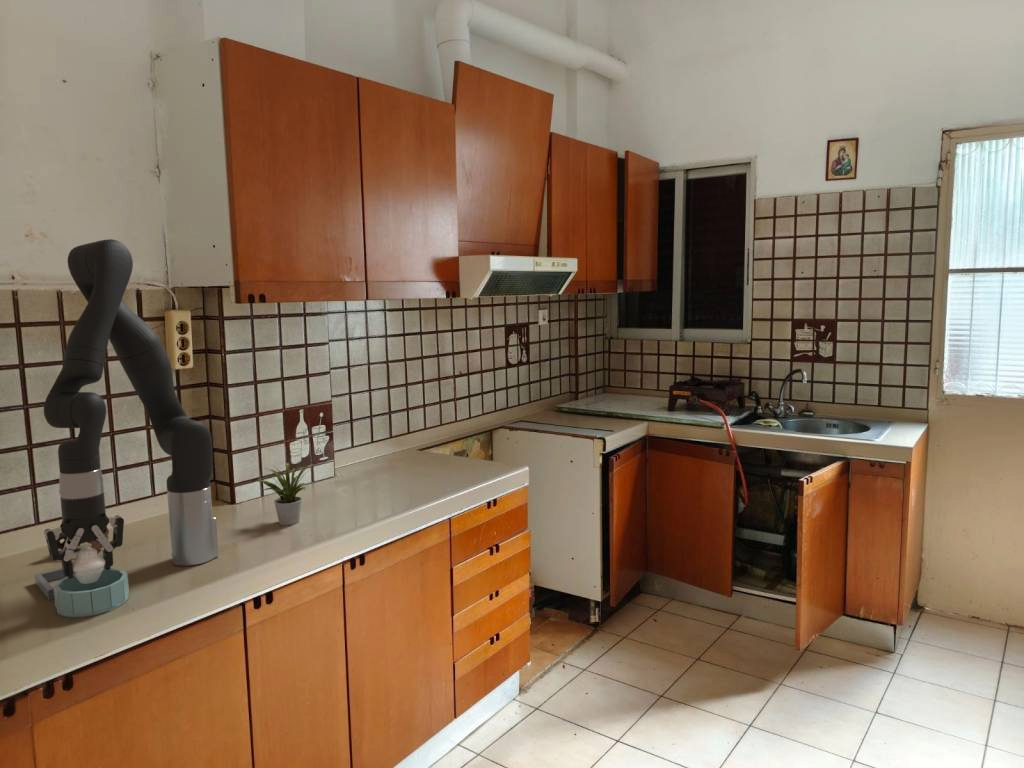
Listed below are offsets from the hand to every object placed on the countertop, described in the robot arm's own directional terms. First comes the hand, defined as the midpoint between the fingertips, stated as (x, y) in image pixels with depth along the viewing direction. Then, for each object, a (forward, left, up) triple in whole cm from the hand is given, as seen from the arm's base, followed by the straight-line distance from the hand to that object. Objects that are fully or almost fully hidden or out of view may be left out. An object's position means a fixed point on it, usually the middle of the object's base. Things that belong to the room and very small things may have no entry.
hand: (88, 572), depth 150 cm
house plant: (-54, -20, -7) cm, 58 cm away
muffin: (0, 0, -2) cm, 2 cm away
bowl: (0, 0, -7) cm, 7 cm away
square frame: (0, -14, -7) cm, 16 cm away
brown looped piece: (-7, -35, -7) cm, 36 cm away
